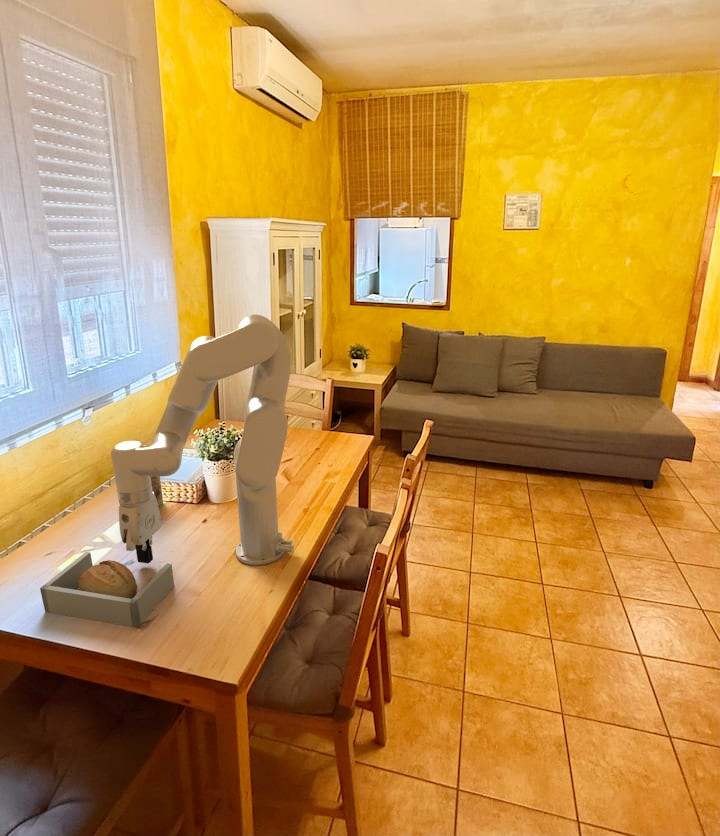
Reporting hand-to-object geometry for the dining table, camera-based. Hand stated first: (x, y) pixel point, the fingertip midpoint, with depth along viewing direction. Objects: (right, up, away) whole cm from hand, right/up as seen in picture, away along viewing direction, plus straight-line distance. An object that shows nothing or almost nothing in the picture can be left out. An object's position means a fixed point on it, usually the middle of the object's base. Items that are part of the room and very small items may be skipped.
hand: (145, 560), depth 132 cm
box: (-3, -5, -11) cm, 12 cm away
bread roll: (-4, -6, -11) cm, 13 cm away
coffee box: (-11, +8, +28) cm, 31 cm away
